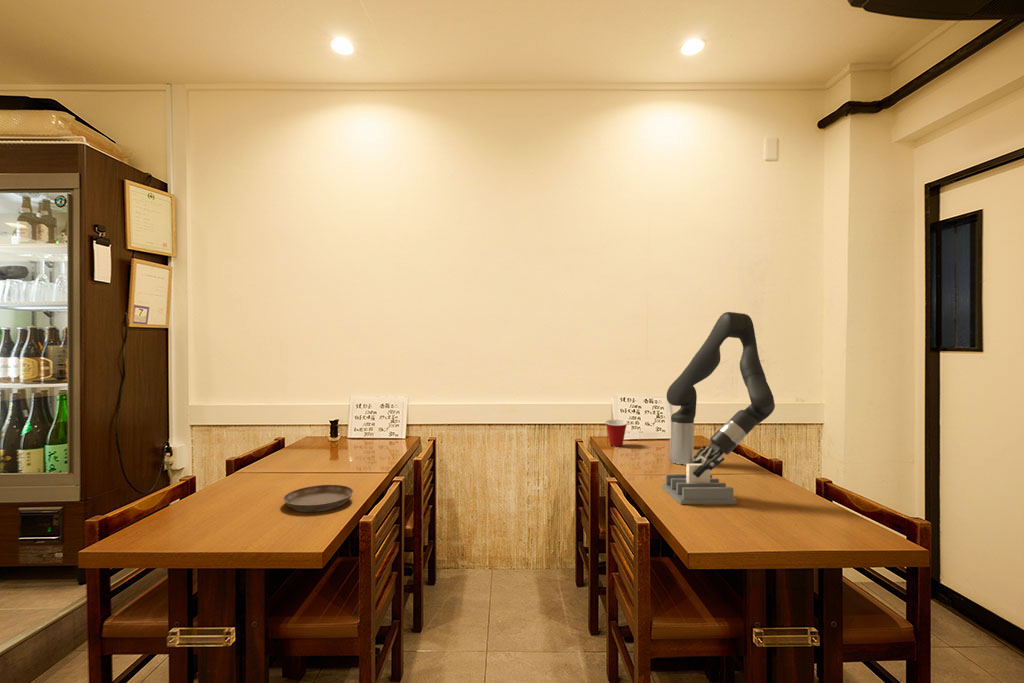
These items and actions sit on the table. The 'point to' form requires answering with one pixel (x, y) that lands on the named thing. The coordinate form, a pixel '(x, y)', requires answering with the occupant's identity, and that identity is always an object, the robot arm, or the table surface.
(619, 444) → the plastic cup
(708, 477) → the tall cream block
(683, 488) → the dish rack
